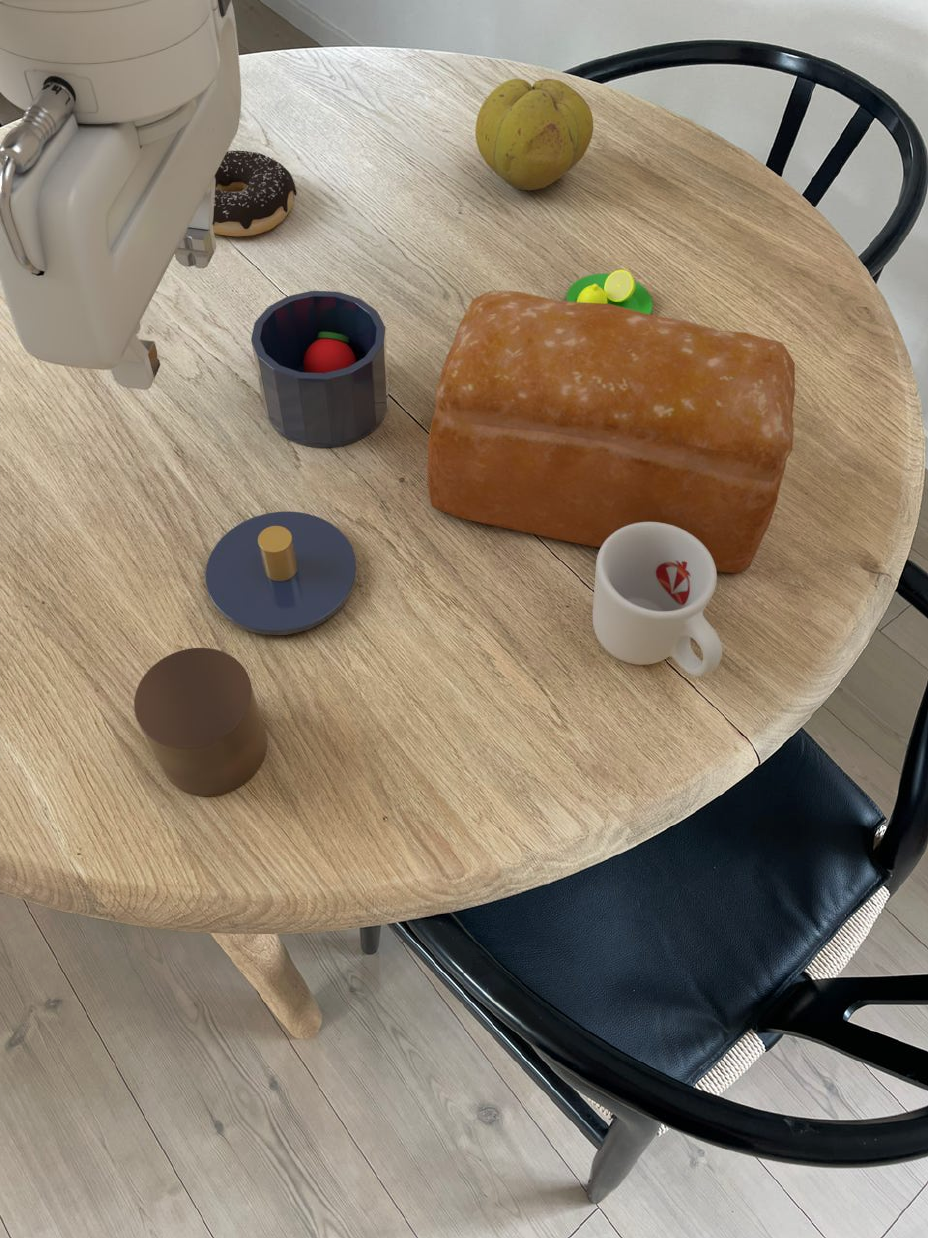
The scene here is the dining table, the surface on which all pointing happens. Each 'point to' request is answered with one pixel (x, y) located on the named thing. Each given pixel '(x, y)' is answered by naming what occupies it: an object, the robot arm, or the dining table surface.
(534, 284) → the dining table surface
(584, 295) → the green dish with lemons
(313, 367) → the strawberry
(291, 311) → the pot
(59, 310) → the robot arm
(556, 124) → the fruit
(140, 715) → the stand
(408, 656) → the dining table surface
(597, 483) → the bread
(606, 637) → the cup
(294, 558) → the pot lid
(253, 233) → the donut
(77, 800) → the dining table surface
